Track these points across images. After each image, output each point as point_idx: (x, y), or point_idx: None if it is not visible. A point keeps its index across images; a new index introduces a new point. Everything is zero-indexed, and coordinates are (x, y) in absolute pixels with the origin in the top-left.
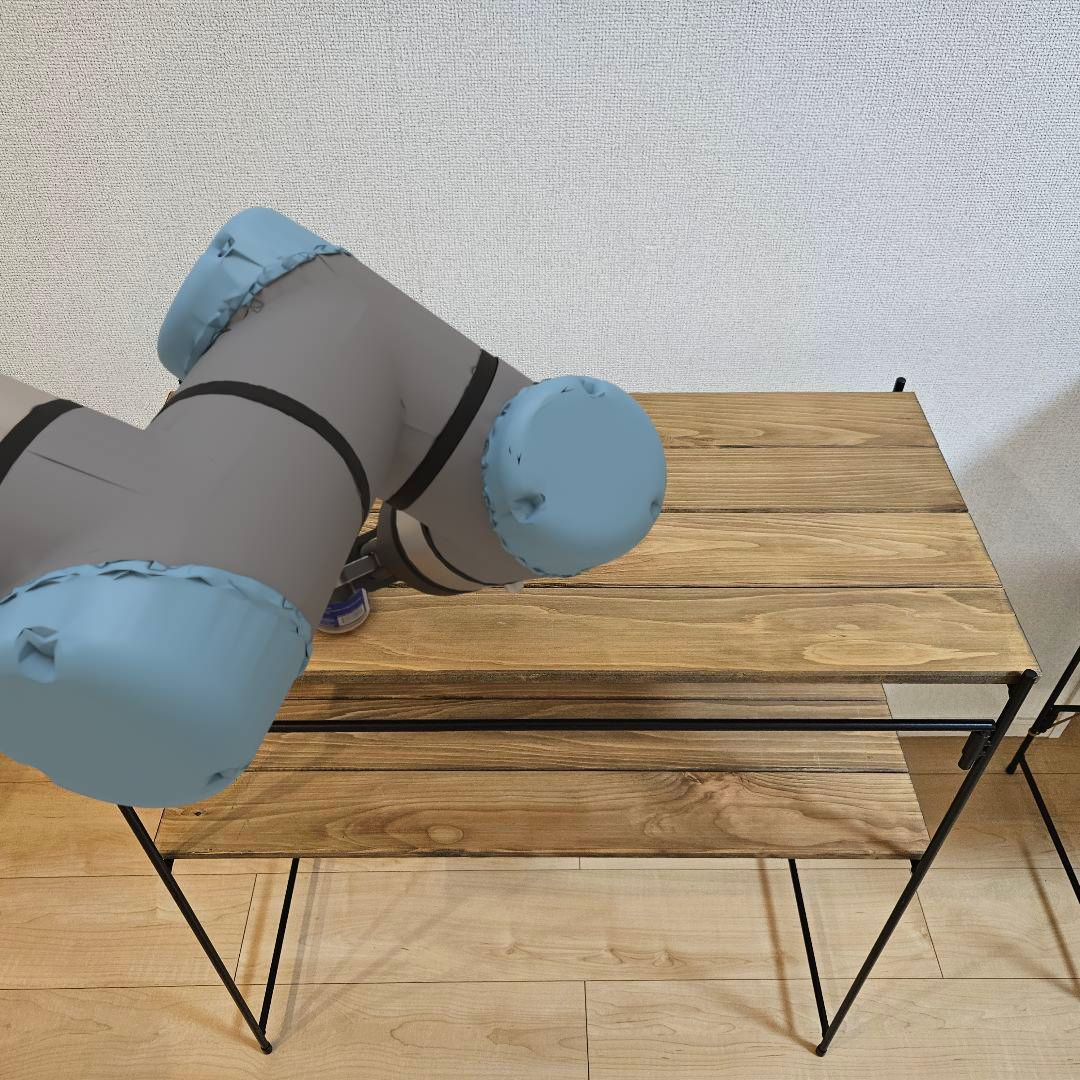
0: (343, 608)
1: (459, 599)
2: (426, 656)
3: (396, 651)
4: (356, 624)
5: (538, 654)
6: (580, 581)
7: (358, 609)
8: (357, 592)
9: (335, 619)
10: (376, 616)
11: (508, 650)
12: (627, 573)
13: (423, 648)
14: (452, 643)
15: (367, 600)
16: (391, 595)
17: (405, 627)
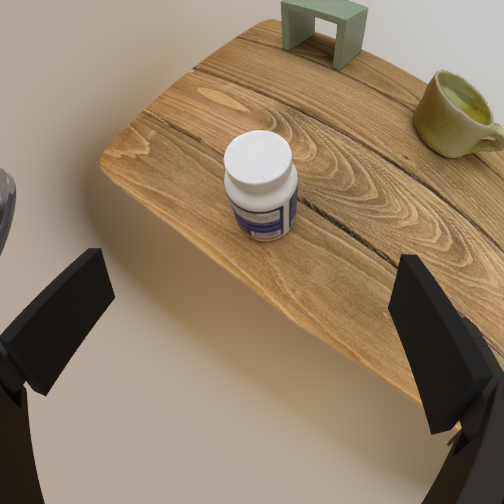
0: (257, 228)
1: (368, 266)
2: (306, 310)
3: (285, 287)
4: (268, 240)
5: (391, 367)
6: (461, 310)
7: (273, 232)
8: (276, 222)
9: (248, 230)
10: (292, 238)
11: (372, 348)
12: (489, 323)
13: (309, 299)
14: (335, 310)
15: (288, 225)
16: (316, 224)
17: (308, 266)
